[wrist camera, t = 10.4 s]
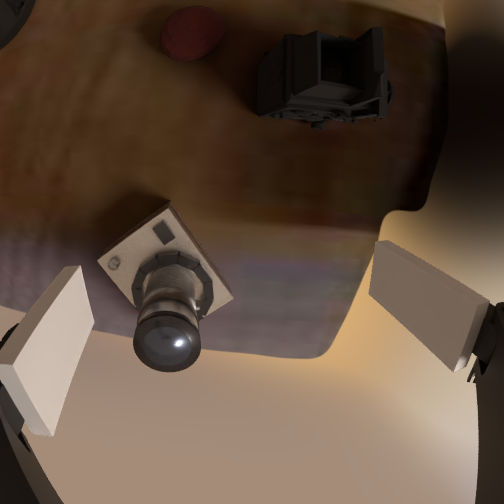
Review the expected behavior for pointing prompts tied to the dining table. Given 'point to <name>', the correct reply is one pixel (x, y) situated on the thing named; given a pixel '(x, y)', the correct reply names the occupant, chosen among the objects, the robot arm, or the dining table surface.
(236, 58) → the dining table surface
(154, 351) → the lens
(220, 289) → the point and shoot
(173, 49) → the potato
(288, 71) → the camera
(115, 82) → the dining table surface
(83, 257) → the dining table surface
